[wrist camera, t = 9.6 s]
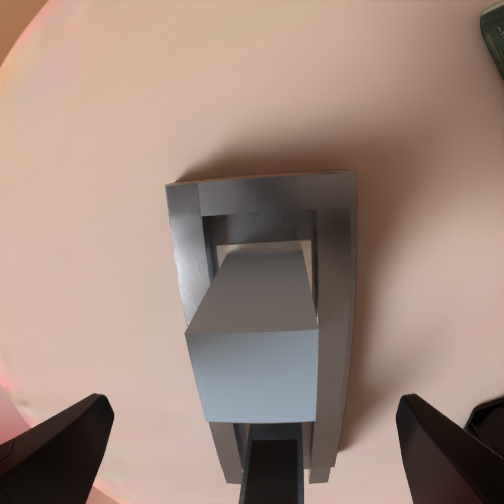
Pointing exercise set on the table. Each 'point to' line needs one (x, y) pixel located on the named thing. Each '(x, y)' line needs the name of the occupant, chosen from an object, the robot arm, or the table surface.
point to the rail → (323, 293)
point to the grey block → (257, 341)
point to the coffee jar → (494, 33)
